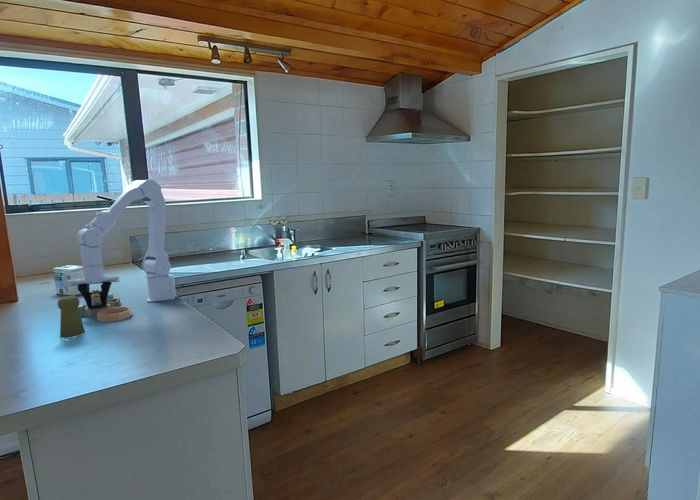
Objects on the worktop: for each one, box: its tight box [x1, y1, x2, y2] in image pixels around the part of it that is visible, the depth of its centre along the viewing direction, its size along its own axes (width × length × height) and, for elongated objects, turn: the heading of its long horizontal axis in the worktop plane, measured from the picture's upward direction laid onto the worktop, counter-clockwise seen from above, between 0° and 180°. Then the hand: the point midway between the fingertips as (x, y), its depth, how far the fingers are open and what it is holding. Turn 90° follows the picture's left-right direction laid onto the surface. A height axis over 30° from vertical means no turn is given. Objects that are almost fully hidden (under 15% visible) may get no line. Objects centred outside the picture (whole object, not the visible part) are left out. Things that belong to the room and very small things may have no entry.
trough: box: [83, 297, 121, 308], centre depth 150 cm, size 10×6×2 cm, turn 110°
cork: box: [57, 295, 86, 339], centre depth 122 cm, size 6×6×11 cm
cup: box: [97, 305, 133, 323], centre depth 137 cm, size 9×9×2 cm
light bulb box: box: [52, 264, 84, 296], centre depth 172 cm, size 11×7×11 cm, turn 68°
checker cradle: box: [78, 304, 111, 318], centre depth 141 cm, size 9×7×3 cm
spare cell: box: [107, 294, 115, 303], centre depth 150 cm, size 7×4×4 cm, turn 110°
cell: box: [89, 289, 105, 309], centre depth 141 cm, size 4×4×7 cm
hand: (97, 305), depth 142 cm, fingers closed on cell, 4 cm apart
